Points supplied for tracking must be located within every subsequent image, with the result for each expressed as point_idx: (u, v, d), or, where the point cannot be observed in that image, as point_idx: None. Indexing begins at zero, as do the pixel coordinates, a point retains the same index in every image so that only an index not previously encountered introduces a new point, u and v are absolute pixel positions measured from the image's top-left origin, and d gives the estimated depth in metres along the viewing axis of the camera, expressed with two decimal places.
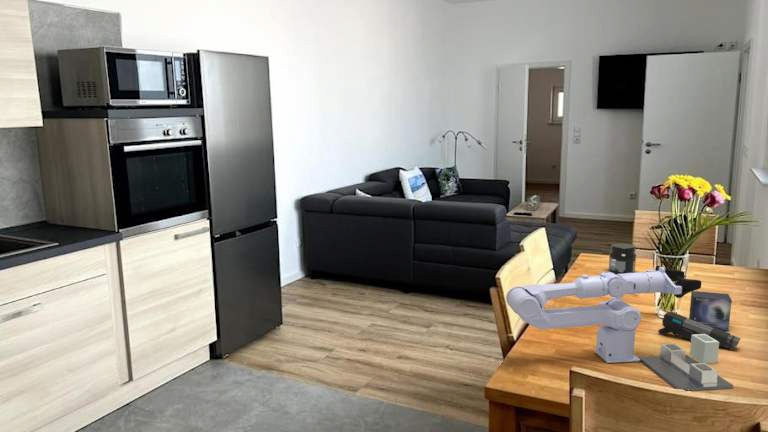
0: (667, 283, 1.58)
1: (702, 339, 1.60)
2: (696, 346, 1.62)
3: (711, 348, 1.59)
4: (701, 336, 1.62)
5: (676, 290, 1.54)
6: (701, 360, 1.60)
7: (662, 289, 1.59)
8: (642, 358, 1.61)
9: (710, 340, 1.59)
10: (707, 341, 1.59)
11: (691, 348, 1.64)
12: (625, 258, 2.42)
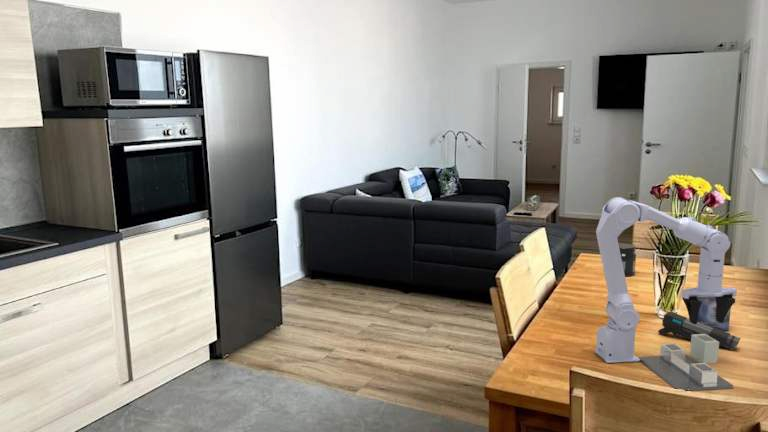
0: (699, 291, 1.58)
1: (702, 339, 1.60)
2: (696, 346, 1.62)
3: (711, 348, 1.59)
4: (701, 336, 1.62)
5: (683, 292, 1.58)
6: (701, 360, 1.60)
7: (697, 286, 1.60)
8: (642, 358, 1.61)
9: (710, 340, 1.59)
10: (707, 341, 1.59)
11: (691, 348, 1.64)
12: (625, 258, 2.42)
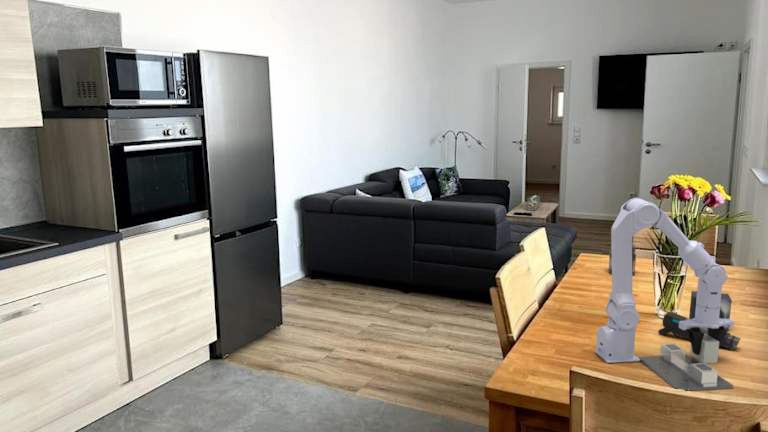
0: (696, 323, 1.60)
1: (702, 339, 1.60)
2: None
3: (711, 348, 1.59)
4: None
5: (681, 323, 1.60)
6: (701, 360, 1.60)
7: (695, 317, 1.61)
8: (642, 358, 1.61)
9: (710, 340, 1.59)
10: (707, 341, 1.59)
11: (691, 348, 1.64)
12: None
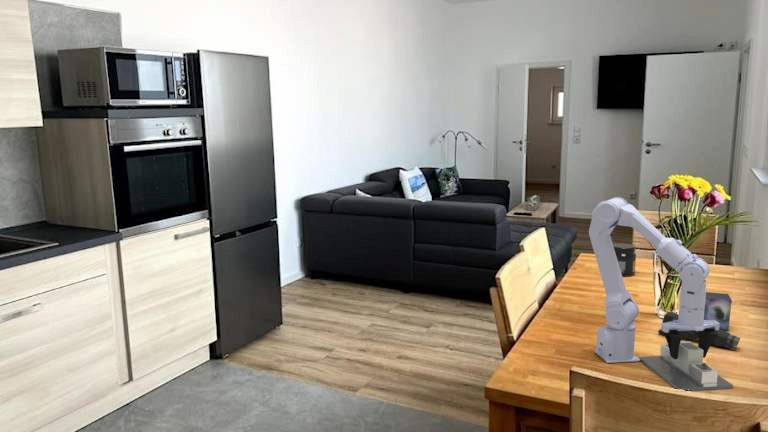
0: (680, 325, 1.50)
1: (686, 347, 1.51)
2: (679, 354, 1.53)
3: (695, 357, 1.49)
4: (685, 344, 1.53)
5: (663, 325, 1.50)
6: (685, 370, 1.51)
7: (678, 319, 1.52)
8: (642, 358, 1.61)
9: (694, 348, 1.50)
10: (690, 350, 1.50)
11: None
12: (625, 258, 2.42)
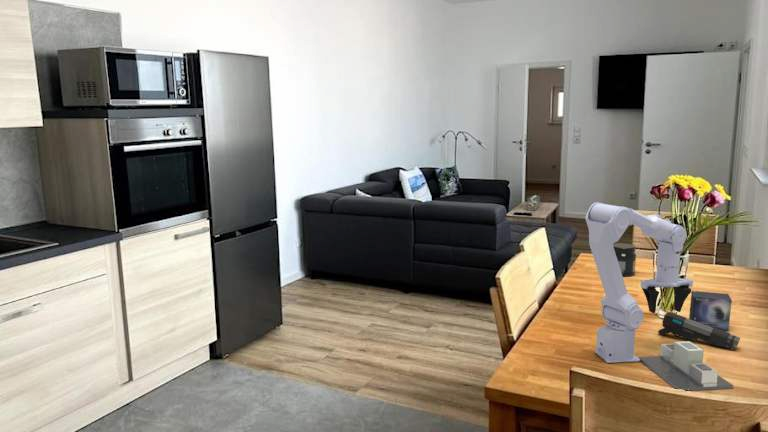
0: (657, 282, 1.67)
1: (686, 347, 1.51)
2: (679, 354, 1.53)
3: (695, 357, 1.49)
4: (685, 344, 1.53)
5: (642, 282, 1.67)
6: (685, 370, 1.51)
7: (656, 277, 1.69)
8: (642, 358, 1.61)
9: (694, 348, 1.50)
10: (690, 350, 1.50)
11: (674, 356, 1.55)
12: (625, 258, 2.42)
